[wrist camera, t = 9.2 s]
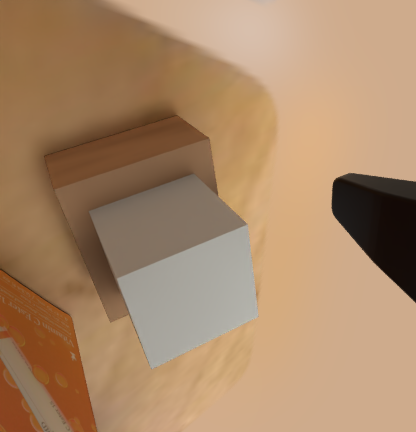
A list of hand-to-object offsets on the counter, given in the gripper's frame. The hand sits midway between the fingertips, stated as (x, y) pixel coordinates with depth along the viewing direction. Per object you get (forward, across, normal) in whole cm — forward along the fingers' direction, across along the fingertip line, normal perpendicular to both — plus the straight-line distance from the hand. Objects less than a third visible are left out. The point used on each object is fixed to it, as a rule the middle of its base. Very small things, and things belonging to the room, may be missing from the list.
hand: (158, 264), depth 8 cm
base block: (+13, -2, +6) cm, 14 cm away
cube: (+9, -2, +6) cm, 11 cm away
